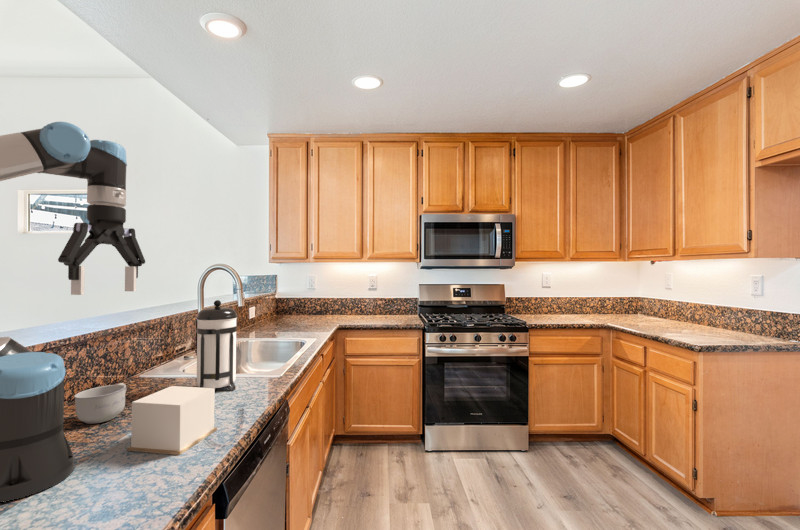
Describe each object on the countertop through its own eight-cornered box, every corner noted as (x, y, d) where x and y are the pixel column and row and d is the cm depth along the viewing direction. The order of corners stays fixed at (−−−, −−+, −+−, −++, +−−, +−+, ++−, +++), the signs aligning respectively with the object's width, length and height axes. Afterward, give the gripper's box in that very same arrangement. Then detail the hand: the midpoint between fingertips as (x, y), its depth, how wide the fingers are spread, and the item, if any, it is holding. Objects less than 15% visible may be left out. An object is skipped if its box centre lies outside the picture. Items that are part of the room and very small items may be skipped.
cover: (179, 450, 83) (180, 405, 83) (131, 447, 84) (131, 402, 85) (214, 428, 95) (214, 388, 95) (171, 425, 96) (171, 385, 96)
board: (179, 454, 82) (180, 452, 82) (127, 450, 84) (127, 447, 84) (217, 429, 95) (217, 427, 95) (170, 426, 97) (170, 424, 97)
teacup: (97, 429, 95) (97, 397, 95) (62, 425, 97) (63, 394, 97) (144, 409, 109) (145, 381, 109) (113, 406, 111) (114, 379, 111)
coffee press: (178, 392, 124) (179, 301, 124) (218, 379, 138) (219, 298, 139) (216, 400, 117) (218, 303, 117) (255, 385, 132) (256, 299, 132)
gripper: (66, 195, 80) (64, 296, 79) (161, 213, 104) (160, 290, 104) (37, 197, 81) (35, 296, 81) (137, 214, 105) (136, 289, 105)
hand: (105, 293), depth 92 cm, fingers open, 13 cm apart
